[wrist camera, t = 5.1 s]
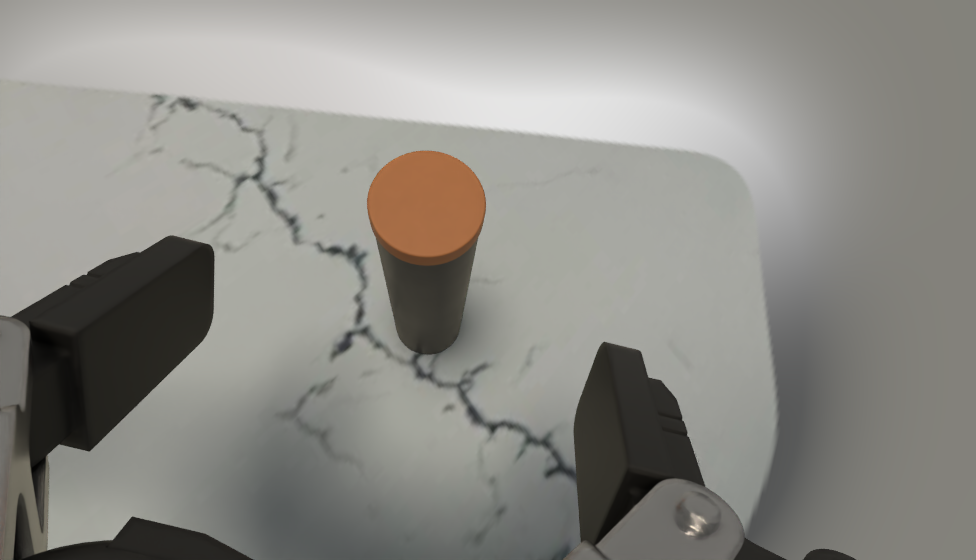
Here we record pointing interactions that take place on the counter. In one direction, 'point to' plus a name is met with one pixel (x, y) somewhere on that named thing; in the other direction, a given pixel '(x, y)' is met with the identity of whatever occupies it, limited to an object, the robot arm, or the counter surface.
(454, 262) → the stylus
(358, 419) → the counter surface
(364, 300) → the counter surface
